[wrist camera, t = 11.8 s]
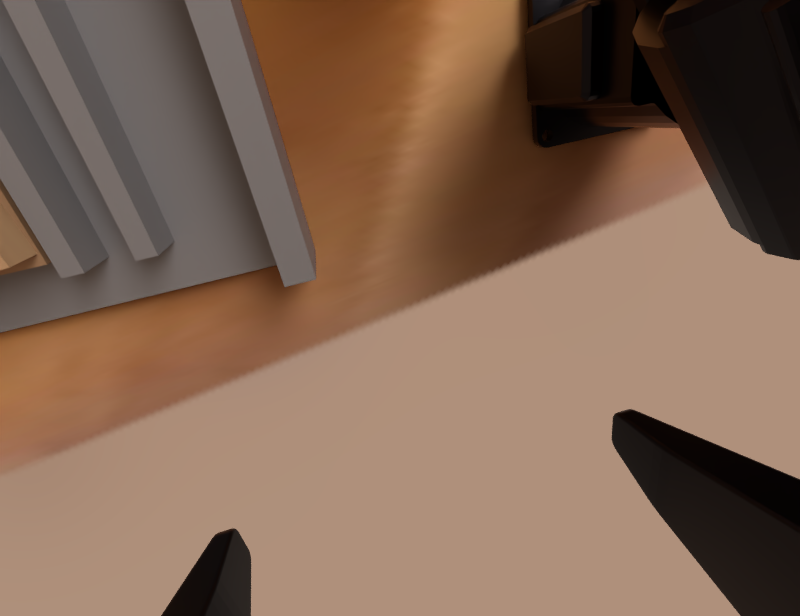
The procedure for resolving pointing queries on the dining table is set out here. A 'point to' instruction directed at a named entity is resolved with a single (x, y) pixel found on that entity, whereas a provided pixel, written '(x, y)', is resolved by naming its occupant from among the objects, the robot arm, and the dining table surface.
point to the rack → (140, 153)
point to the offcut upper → (12, 242)
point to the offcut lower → (41, 257)
